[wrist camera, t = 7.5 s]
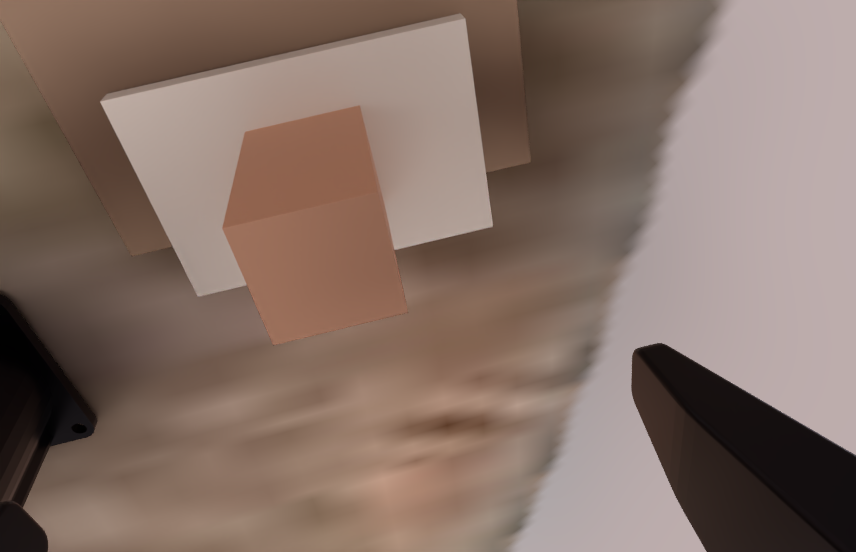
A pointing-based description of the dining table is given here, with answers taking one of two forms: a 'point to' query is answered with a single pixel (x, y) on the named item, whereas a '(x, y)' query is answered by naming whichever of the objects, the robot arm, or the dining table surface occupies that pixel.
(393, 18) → the ticket board
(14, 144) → the dining table surface
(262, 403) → the dining table surface
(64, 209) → the dining table surface
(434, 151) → the stub
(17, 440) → the robot arm
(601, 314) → the dining table surface
